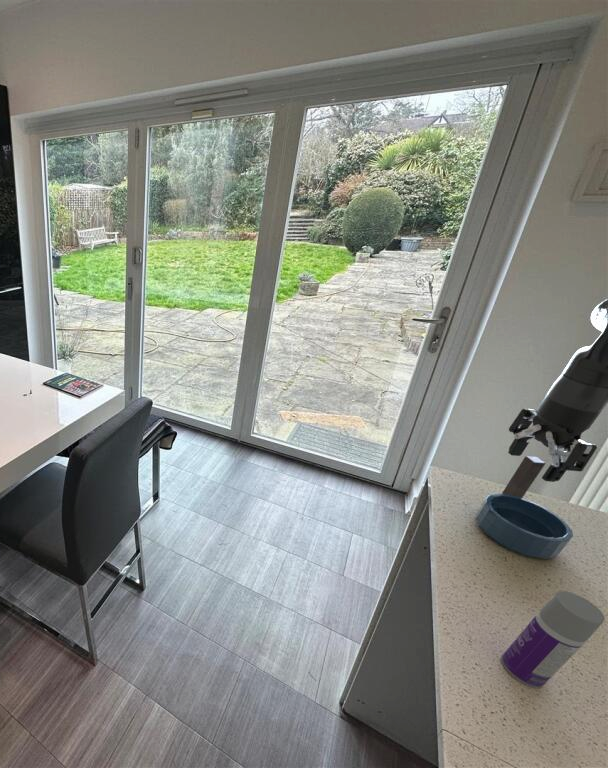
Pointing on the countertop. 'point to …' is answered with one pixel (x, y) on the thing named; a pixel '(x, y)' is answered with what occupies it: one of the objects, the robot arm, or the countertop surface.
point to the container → (551, 638)
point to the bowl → (523, 526)
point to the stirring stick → (524, 476)
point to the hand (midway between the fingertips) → (530, 466)
